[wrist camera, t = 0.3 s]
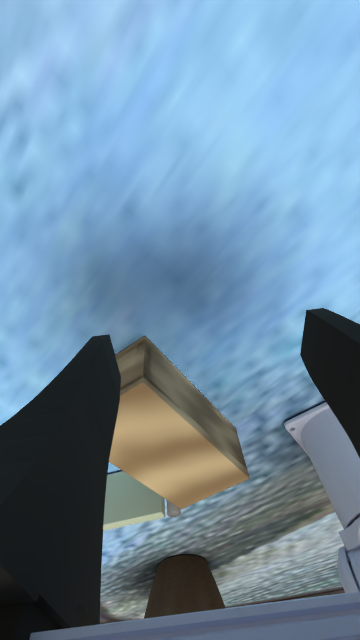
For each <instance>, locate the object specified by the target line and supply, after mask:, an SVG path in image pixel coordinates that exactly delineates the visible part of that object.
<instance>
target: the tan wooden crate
mask: <svg viewBox="0 0 360 640" xmlns="http://www.w3.org/2000/svg"><path fill="white" fill-rule="evenodd" d="M115 357H116V361H117V364H118V368H119V372H120V375H121V388H120V403H119V409H118V414H117V420H116V425H115V430H114V436H113V441H112V446H111V452H110V457H109V462H110V463H112V464H113V465H115V466H116V467H118V468H119V469H121V470H122V471H124V472H126V473H127V474H129V475H130V476H132V477H133V478H135V479H136V480H138V481H139V482H141V483H142V484H144V485H145V486H147V487H148V488H150V489H151V490H153V491H154V492H156V493H157V494H159V495H161V496H162V497H164V498H165V499H167V500H168V501H170V502H171V503H173V504H174V505H176V506H177V507H179V508H180V509H182V508H185V507H187V506H189V505H191V504H194V503H196V502H198V501H200V500H203V499H205V498H207V497H209V496H212V495H214V494H216V493H218V492H221V491H223V490H225V489H227V488H230V487H232V486H234V485H236V484H239V483H241V482H243V481H245V480H248V479H250V478H249V475H248V471H247V467H246V464H245V460H244V457H243V453H242V449H241V446H240V442H239V438H238V435H237V431H236V428H235V427H234V426H233V425H232V424H231V423H230V422H229V421H228V420H227V419H226V418H225V417H224V416H223V415H222V414H221V413H220V412H219V411H218V410H217V409H216V408H215V407H214V406H213V405H212V404H211V403H210V402H209V401H208V400H207V399H206V398H205V397H204V396H203V395H202V394H201V393H200V392H199V391H198V389H197V388H196V387H195V386H194V385H193V384H192V383H191V382H190V381H189V380H188V379H187V378H186V377H185V376H184V375H183V374H182V373H181V372H180V371H179V370H178V369H177V368H176V367H175V366H174V365H173V364H172V363H171V362H170V361H169V360H168V359H167V358H166V357H165V356H164V355H163V354H162V353H161V352H160V351H159V350H158V349H157V348H156V347H155V346H154V344H153V343H152V342H151V341H150V340H149V339H148V338H147V337H146V336H144V337H142V338H141V339H139V340H138V341H136V342H135V343H133V344H132V345H130V346H129V347H127V348H125V349H124V350H122V351H121V352H119V353H118V354H116V355H115Z"/></svg>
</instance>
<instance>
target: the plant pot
mask: <svg viewBox="0 0 360 640" xmlns="http://www.w3.org/2000/svg"><path fill="white" fill-rule="evenodd" d="M217 609H225V605H224V603H223V600H222V597H221V595H220V592H219V590H218V587H217V585H216V582H215V580H214V577H213V575H212V573H211V570H210V568H209V566H208V564H207V562H206V560H205V559H203V558H201V557H198V556H193V555H180V556H174V557H171V558H168V559H166V560H164V561H162V562H161V563H160V564H159V565H158V568H157V571H156V575H155V578H154V581H153V585H152V589H151V592H150V596H149V600H148V604H147V608H146V612H145V617H144V619H146V618H154V617H161V616H169V615H177V614H185V613H193V612H201V611H209V610H217Z"/></svg>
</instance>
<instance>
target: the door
mask: <svg viewBox="0 0 360 640" xmlns="http://www.w3.org/2000/svg"><path fill="white" fill-rule="evenodd" d="M180 514H181V510H180V508H179V507H177V506H176V505H174V504H173V503H171V502H170V501H168V500H167V515H168V516H170V517H176V516H179V515H180ZM164 517H165V502H164V497H162V496H161V495H159V494H157V493H156V492H154V491H153V490H151V489H150V488H148V487H147V486H145V485H144V484H142V483H141V482H139V481H138V480H136V479H135V478H133V477H132V476H130V475H129V474H127V473H126V472H124V471H121V472H117V473H113V474H108V475H107V483H106V494H105V508H104V523H103V531H104V530H109V529H113V528H118V527H122V526H127V525H132V524H136V523H141V522H145V521H150V520H154V519H159V518H164Z"/></svg>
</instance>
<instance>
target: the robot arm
mask: <svg viewBox="0 0 360 640" xmlns="http://www.w3.org/2000/svg"><path fill="white" fill-rule="evenodd" d="M300 355H301V357H302V360H303V362H304V364H305V367H306V369H307V371H308V373H309V375H310V377H311V379H312V380H313V382H314V384H315V385H316V387H317V388H318V390H319V392H320V393H321V395H322V396H323V398H324V399H325V401H326V402H325V403H323V404H321V405H319V406H317V407H315V408H313V409H311V410H309V411H307V412H305V413H302V414H300V415H298V416H296V417H294V418H292V419H290V420H288V421H286V422H285V423H284V426H285V428H286V430H287V431H288V432H289V433H290V434H291V436H292V437H293V438H294V439H295V441H296V442H297V443H298V444H299V445H300V447H301V448H302V449H303V450H304V451H305V453H306V454H307V455H308V456H309V458H310V459H311V462H312V464H313V466H314V468H315V470H316V472H317V474H318V476H319V478H320V480H321V482H322V485H323V487H324V489H325V491H326V493H327V495H328V497H329V499H330V501H331V503H332V505H333V508H334V510H335V512H336V514H337V516H338V518H339V520H340V522H341V524H342V526H343V528H344V530H342V531H340V532H339V534H340V536H341V539H342V541H343V543H344V545H345V546H344V547H341V548H340V549H339V552H338V562H337V565H338V572H339V575H340V579H341V582H342V585H343V588H344V590H345V593H344V594H335V595H328V596H319V597H312V598H304V599H296V600H288V601H280V602H272V603H264V604H256V605H248V606H240V607H233V608H225V609H217V610H209V611H201V612H193V613H185V614H177V615H169V616H161V617H154V618H146V619H138V620H130V621H122V622H114V623H106V624H99V622H100V586H101V560H102V540H103V523H104V508H105V494H106V483H107V471H108V464H109V457H110V452H111V446H112V441H113V436H114V430H115V425H116V420H117V414H118V409H119V403H120V388H121V375H120V372H119V368H118V364H117V361H116V357H115V353H114V350H113V346H112V343H111V339H110V335H102V336H94V337H92V338H91V339H90V340H89V341H88V342H87V343H86V344H85V346H84V347H83V348H82V349H81V350H80V351H79V352H78V354H77V355H76V356H75V357H74V358H73V359H72V360H71V361H70V363H69V364H68V365H67V366H66V367H65V368H64V369H63V370H62V371H61V372H60V373H59V374H58V375H57V376H56V377H55V378H54V379H53V380H52V381H51V382H50V383H49V384H48V385H47V386H46V387H45V388H44V389H43V390H42V391H41V392H40V393H39V394H38V395H37V396H36V397H35V398H34V399H33V400H32V401H30V402H29V403H28V404H27V405H26V406H25V407H23V408H22V409H21V410H20V411H19V412H17V413H16V414H15V415H14V416H13V417H11V418H10V419H9V420H7V421H6V422H5V423H3V424H2V425H1V426H0V640H360V324H358V323H356V322H353V321H351V320H349V319H347V318H345V317H343V316H341V315H339V314H336V313H334V312H332V311H329V310H327V309H324V308H320V309H312V310H306V317H305V324H304V331H303V339H302V346H301V353H300Z"/></svg>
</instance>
